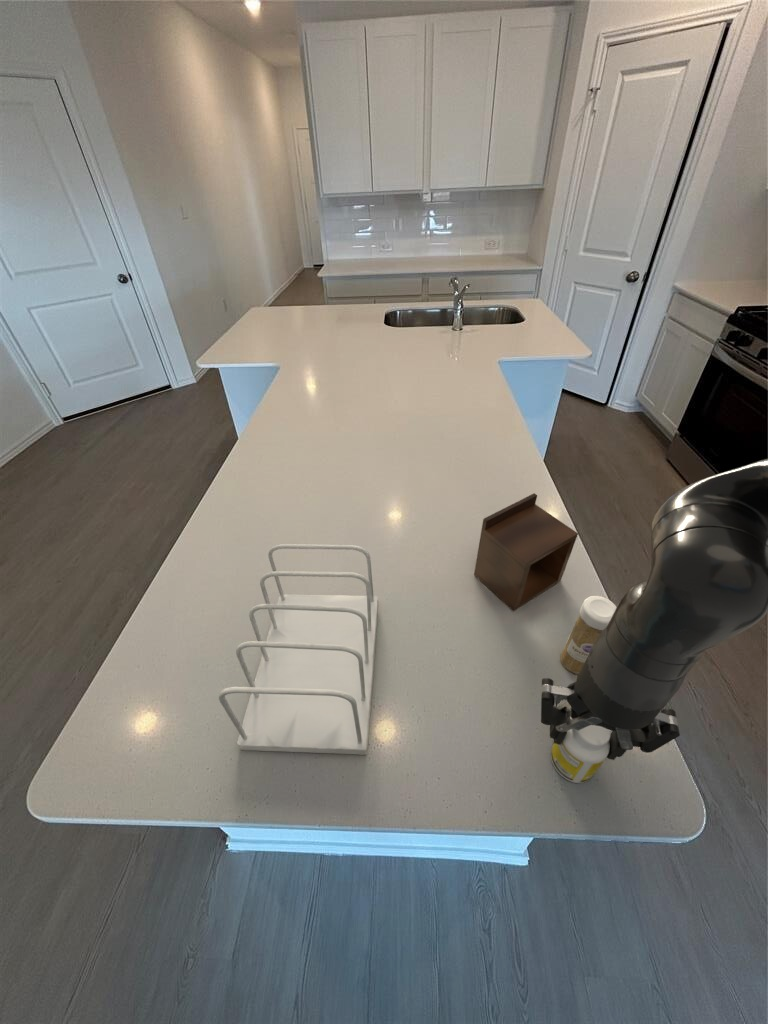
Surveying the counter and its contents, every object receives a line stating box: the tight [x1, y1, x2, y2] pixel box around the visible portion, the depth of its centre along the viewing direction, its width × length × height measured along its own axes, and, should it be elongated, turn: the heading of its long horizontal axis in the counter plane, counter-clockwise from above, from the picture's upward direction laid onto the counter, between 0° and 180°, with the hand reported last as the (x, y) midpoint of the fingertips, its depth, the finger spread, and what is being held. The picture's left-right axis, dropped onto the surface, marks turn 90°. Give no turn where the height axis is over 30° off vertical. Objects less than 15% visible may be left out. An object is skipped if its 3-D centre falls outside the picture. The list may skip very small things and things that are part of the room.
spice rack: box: [473, 493, 579, 612], centre depth 76 cm, size 10×12×14 cm
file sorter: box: [218, 543, 379, 756], centre depth 63 cm, size 25×17×16 cm
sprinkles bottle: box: [559, 595, 617, 675], centre depth 63 cm, size 5×5×14 cm
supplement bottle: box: [550, 725, 612, 784], centre depth 54 cm, size 5×5×10 cm
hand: (582, 743), depth 53 cm, fingers closed on supplement bottle, 5 cm apart
